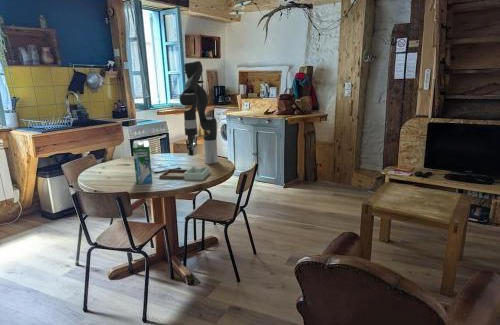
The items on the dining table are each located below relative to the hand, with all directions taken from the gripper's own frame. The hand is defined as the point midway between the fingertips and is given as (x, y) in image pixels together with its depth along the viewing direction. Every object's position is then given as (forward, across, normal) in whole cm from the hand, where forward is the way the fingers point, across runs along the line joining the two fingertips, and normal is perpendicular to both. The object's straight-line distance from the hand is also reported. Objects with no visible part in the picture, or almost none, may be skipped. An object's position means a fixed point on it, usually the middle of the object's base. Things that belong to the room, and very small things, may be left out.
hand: (192, 154), depth 215 cm
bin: (+15, -4, +1) cm, 16 cm away
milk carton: (+16, +11, -28) cm, 34 cm away
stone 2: (+15, -7, +1) cm, 16 cm away
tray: (+15, -4, -13) cm, 21 cm away
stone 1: (0, 0, 0) cm, 0 cm away
